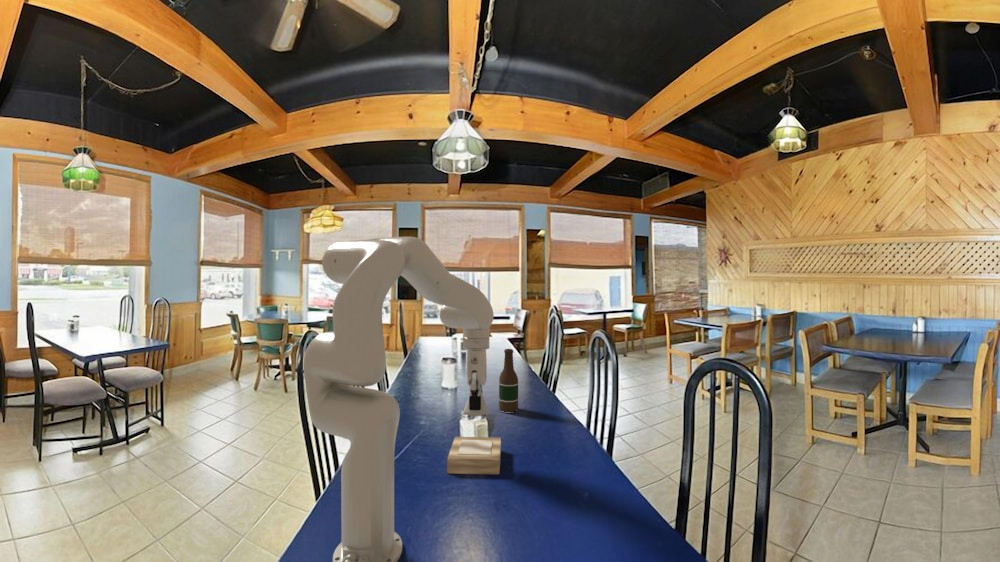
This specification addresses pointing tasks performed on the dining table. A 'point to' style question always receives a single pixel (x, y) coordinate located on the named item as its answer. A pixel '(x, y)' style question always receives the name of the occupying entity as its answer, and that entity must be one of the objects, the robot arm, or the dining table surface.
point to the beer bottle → (508, 385)
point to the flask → (476, 412)
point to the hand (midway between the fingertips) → (475, 405)
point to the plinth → (474, 455)
